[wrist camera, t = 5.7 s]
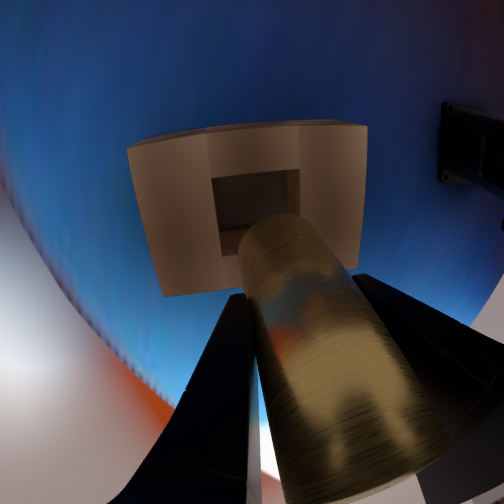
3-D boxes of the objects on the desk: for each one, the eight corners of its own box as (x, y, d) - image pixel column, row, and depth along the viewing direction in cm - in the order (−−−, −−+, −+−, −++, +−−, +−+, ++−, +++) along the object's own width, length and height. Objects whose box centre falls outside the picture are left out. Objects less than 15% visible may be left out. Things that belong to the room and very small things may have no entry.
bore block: (333, 119, 15) (367, 126, 12) (332, 237, 19) (357, 268, 16) (146, 137, 14) (126, 148, 11) (171, 259, 18) (163, 297, 15)
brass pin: (322, 209, 9) (485, 421, 2) (318, 281, 11) (414, 476, 4) (233, 219, 9) (292, 507, 2) (242, 293, 10) (285, 519, 4)
